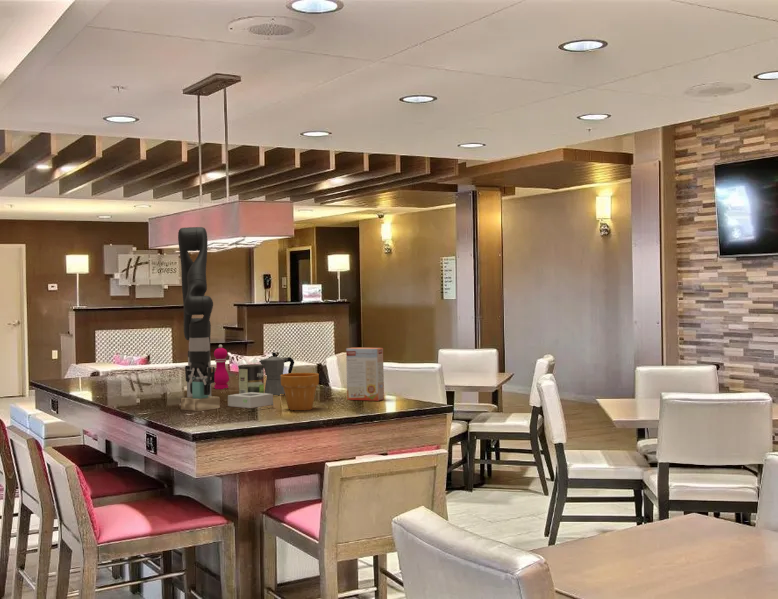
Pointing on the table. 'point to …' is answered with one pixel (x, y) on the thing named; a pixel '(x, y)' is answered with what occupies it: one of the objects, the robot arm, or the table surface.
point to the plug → (198, 389)
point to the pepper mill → (220, 369)
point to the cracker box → (365, 374)
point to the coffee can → (251, 378)
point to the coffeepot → (275, 373)
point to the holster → (200, 403)
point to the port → (250, 400)
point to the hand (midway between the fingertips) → (200, 394)
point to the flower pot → (300, 389)
